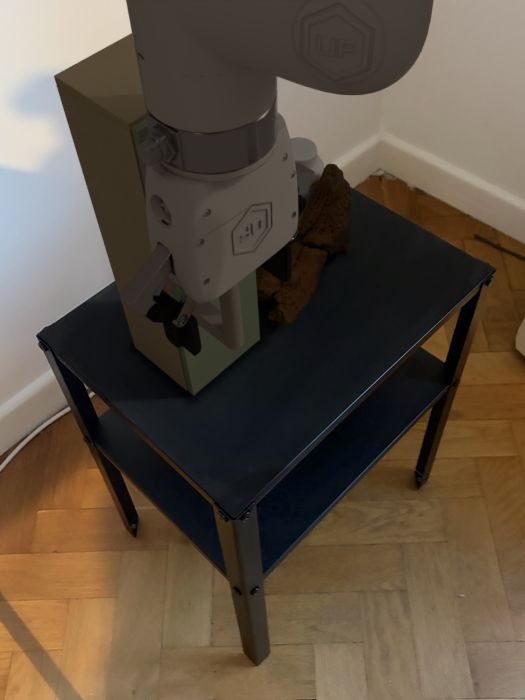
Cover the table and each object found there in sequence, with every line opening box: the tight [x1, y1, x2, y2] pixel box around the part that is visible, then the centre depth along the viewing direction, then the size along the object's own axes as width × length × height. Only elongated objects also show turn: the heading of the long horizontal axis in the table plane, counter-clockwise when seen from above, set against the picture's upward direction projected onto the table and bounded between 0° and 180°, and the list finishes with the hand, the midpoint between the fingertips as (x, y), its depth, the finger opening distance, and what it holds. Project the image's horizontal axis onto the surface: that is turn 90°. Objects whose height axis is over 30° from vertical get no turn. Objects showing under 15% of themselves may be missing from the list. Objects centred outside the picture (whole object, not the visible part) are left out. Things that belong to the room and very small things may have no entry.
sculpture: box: [255, 163, 353, 327], centre depth 76 cm, size 8×10×15 cm
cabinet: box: [53, 32, 189, 392], centre depth 63 cm, size 8×9×31 cm
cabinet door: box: [132, 119, 261, 396], centre depth 59 cm, size 6×9×31 cm
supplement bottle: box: [290, 136, 325, 234], centre depth 81 cm, size 6×6×10 cm
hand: (231, 306), depth 56 cm, fingers open, 9 cm apart
